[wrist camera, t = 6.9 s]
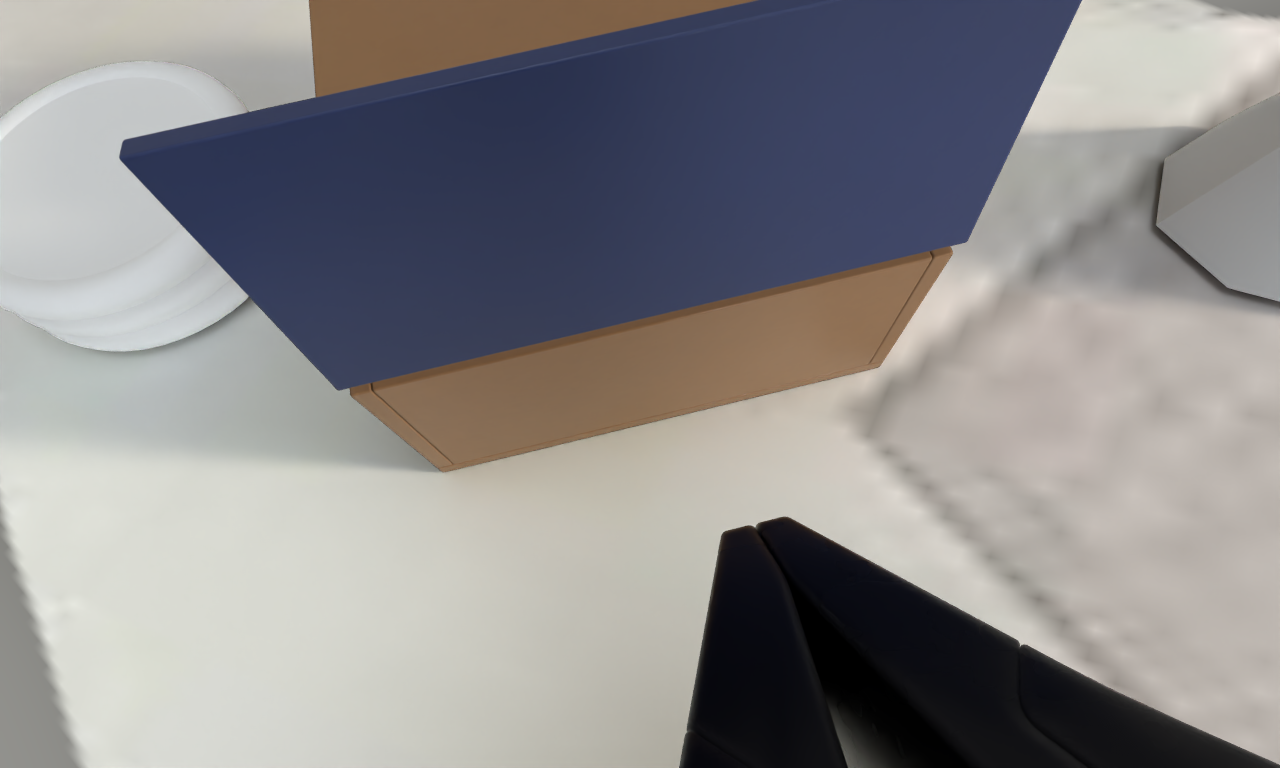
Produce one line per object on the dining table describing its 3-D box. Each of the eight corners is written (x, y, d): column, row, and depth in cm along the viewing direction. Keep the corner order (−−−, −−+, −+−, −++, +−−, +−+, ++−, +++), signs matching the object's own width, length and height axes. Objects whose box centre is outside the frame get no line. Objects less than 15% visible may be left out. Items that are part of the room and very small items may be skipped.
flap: (959, 229, 15) (967, 243, 15) (337, 376, 15) (337, 391, 15) (1097, -77, 10) (1112, -63, 10) (120, 137, 9) (116, 158, 9)
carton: (880, 367, 22) (967, 232, 15) (442, 473, 21) (332, 382, 15) (758, 68, 27) (784, -134, 20) (400, 148, 26) (304, -32, 20)
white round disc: (5, 198, 27) (-88, 132, 23) (254, 87, 28) (197, 11, 25) (61, 409, 23) (-41, 366, 20) (341, 269, 24) (289, 208, 21)
